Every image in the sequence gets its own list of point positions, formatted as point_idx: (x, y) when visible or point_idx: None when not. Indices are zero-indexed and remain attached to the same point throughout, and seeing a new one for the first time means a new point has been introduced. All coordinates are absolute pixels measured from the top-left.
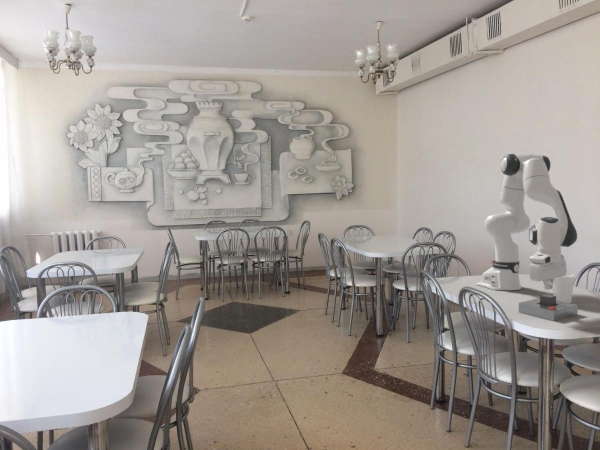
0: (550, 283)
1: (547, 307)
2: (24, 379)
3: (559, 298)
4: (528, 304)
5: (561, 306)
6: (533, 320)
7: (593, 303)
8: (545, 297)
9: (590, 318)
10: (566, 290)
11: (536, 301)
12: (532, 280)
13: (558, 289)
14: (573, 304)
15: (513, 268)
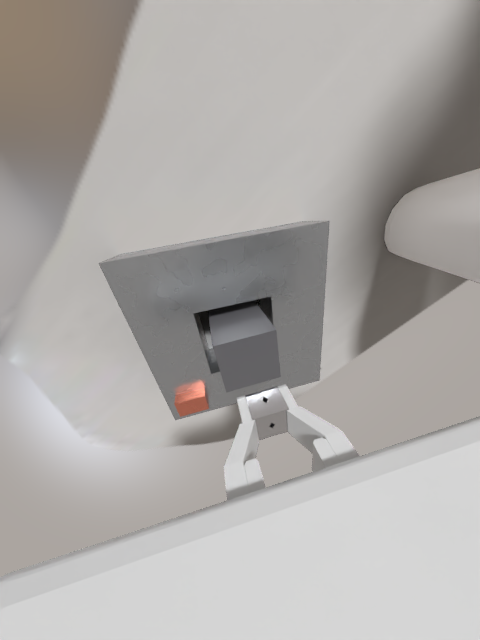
0: (295, 429)
1: (191, 379)
2: None
3: (406, 238)
4: (139, 314)
5: None
6: (110, 370)
7: (462, 281)
8: (220, 370)
9: (293, 393)
10: (459, 273)
11: (226, 282)
12: (6, 581)
13: (457, 241)
14: (315, 372)
15: None
